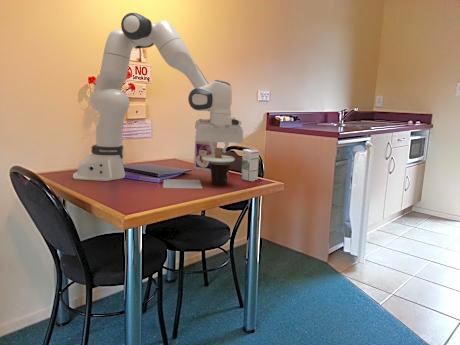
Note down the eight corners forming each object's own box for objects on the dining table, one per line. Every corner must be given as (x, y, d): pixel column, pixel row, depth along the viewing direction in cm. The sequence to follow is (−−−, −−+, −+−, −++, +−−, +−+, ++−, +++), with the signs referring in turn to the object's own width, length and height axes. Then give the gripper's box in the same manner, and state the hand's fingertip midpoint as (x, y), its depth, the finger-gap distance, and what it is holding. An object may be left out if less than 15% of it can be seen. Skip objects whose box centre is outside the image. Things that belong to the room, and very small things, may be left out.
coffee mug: (217, 182, 179) (218, 160, 177) (232, 185, 174) (234, 163, 172) (200, 186, 170) (201, 163, 168) (216, 190, 165) (217, 166, 163)
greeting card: (193, 169, 206) (194, 140, 203) (201, 167, 213) (202, 139, 210) (211, 172, 201) (213, 142, 198) (219, 170, 207) (220, 141, 204)
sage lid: (203, 161, 162) (203, 150, 161) (200, 156, 176) (200, 145, 175) (237, 162, 164) (237, 151, 163) (231, 156, 178) (232, 146, 177)
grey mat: (163, 189, 162) (163, 187, 161) (163, 180, 177) (163, 179, 177) (202, 189, 164) (202, 188, 164) (199, 181, 180) (199, 179, 180)
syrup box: (257, 180, 187) (259, 150, 184) (248, 181, 184) (250, 150, 181) (249, 178, 192) (251, 148, 189) (240, 179, 188) (242, 149, 185)
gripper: (195, 119, 162) (194, 153, 165) (245, 121, 165) (243, 154, 168) (194, 118, 168) (193, 150, 171) (242, 120, 171) (240, 152, 174)
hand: (218, 152), depth 169 cm, fingers closed on sage lid, 3 cm apart
